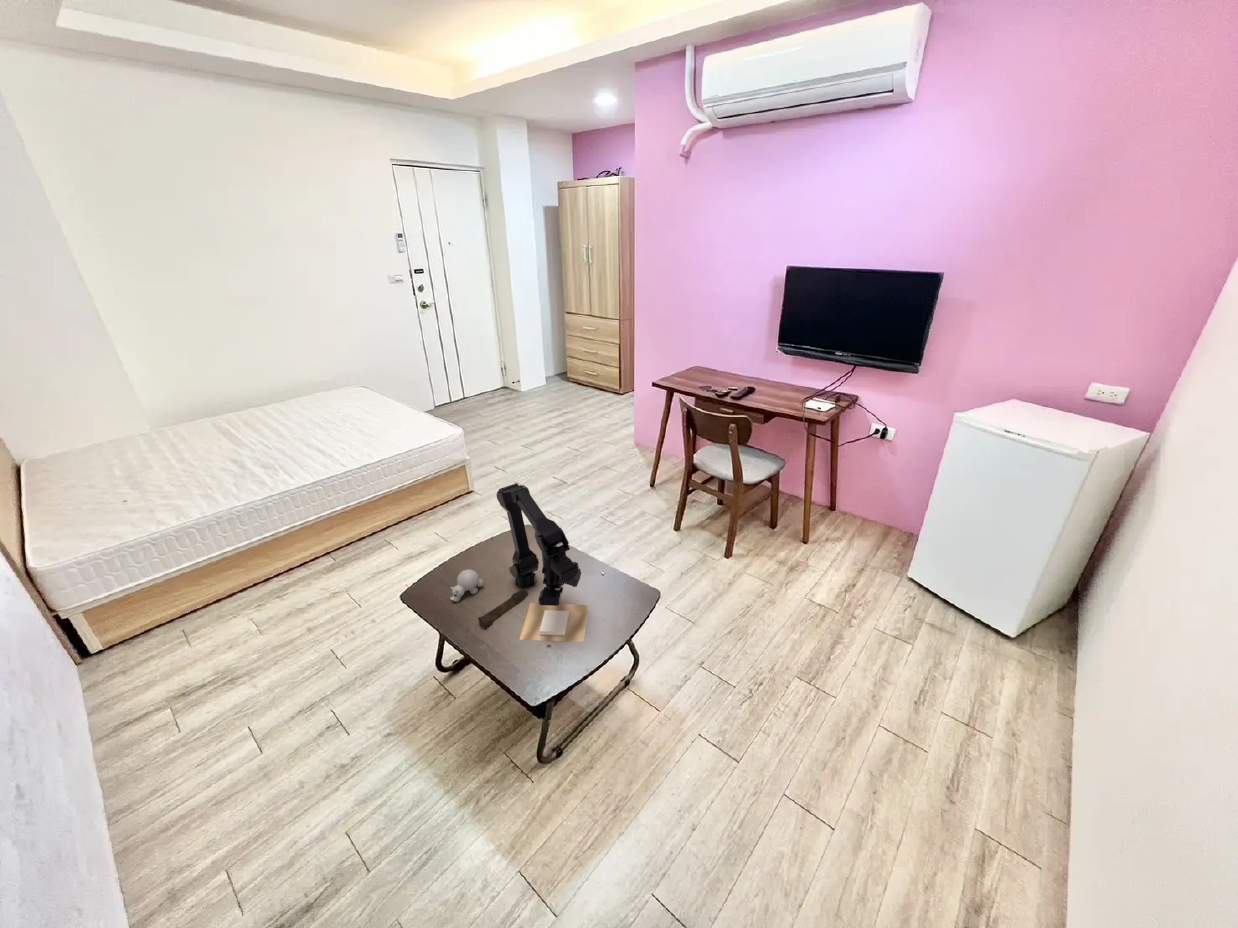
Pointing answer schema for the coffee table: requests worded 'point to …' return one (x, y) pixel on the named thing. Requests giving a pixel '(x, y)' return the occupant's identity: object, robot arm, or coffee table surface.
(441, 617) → the coffee table surface
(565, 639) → the board
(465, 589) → the chubby cartoon animal
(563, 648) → the coffee table surface
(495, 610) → the hand tool
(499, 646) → the coffee table surface
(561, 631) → the tile
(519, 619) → the coffee table surface
